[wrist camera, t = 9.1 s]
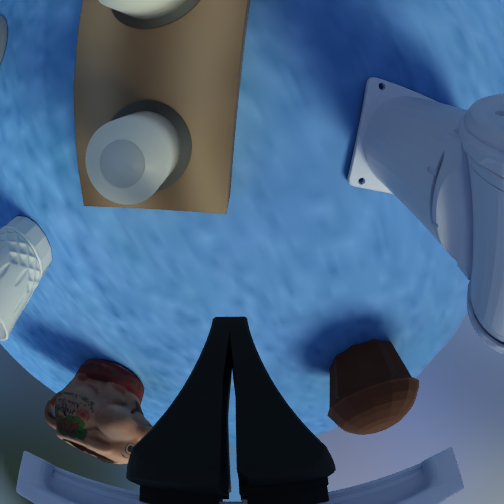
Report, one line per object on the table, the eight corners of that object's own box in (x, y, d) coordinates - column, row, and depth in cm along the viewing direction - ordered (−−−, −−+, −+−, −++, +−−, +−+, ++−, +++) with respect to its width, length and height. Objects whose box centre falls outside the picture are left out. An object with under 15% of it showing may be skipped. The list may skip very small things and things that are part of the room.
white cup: (-2, 214, 19) (-58, 271, 11) (39, 204, 19) (-29, 271, 11) (24, 273, 24) (-18, 334, 16) (67, 272, 24) (21, 347, 15)
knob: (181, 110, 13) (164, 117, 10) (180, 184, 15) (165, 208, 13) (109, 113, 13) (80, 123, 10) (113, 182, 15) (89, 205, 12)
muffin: (366, 383, 36) (379, 441, 28) (304, 378, 34) (312, 446, 25) (419, 336, 29) (445, 400, 21) (357, 324, 27) (381, 406, 19)
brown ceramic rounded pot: (84, 387, 40) (65, 449, 28) (45, 347, 33) (15, 416, 21) (177, 396, 38) (165, 476, 26) (142, 353, 31) (116, 454, 19)
